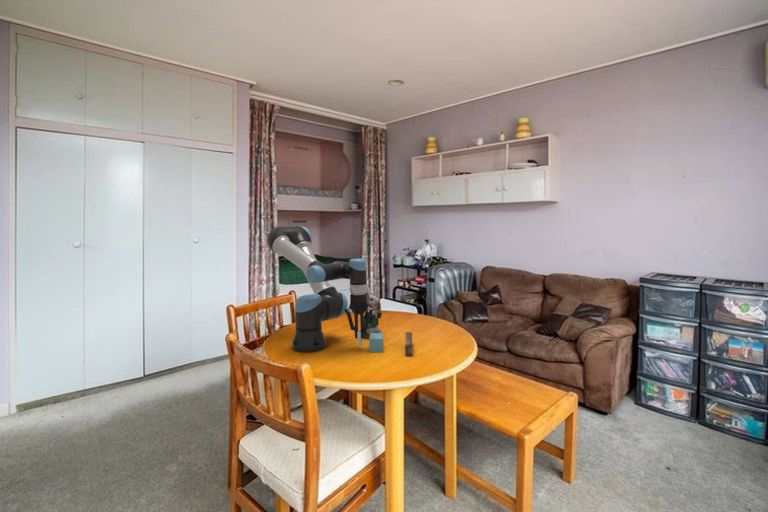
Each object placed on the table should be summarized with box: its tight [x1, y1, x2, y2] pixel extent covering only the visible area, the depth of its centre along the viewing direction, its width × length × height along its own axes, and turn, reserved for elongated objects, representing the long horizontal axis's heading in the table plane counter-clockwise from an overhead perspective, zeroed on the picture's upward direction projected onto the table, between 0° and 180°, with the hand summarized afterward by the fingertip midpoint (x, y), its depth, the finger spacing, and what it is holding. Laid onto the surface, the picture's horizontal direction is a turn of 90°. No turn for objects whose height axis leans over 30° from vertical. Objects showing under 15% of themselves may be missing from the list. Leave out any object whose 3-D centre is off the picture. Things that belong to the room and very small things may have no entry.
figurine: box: [362, 285, 383, 340], centre depth 195 cm, size 11×13×25 cm
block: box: [368, 332, 384, 353], centre depth 178 cm, size 6×9×6 cm, turn 179°
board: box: [404, 331, 413, 357], centre depth 177 cm, size 3×18×5 cm, turn 176°
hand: (359, 345), depth 178 cm, fingers closed
